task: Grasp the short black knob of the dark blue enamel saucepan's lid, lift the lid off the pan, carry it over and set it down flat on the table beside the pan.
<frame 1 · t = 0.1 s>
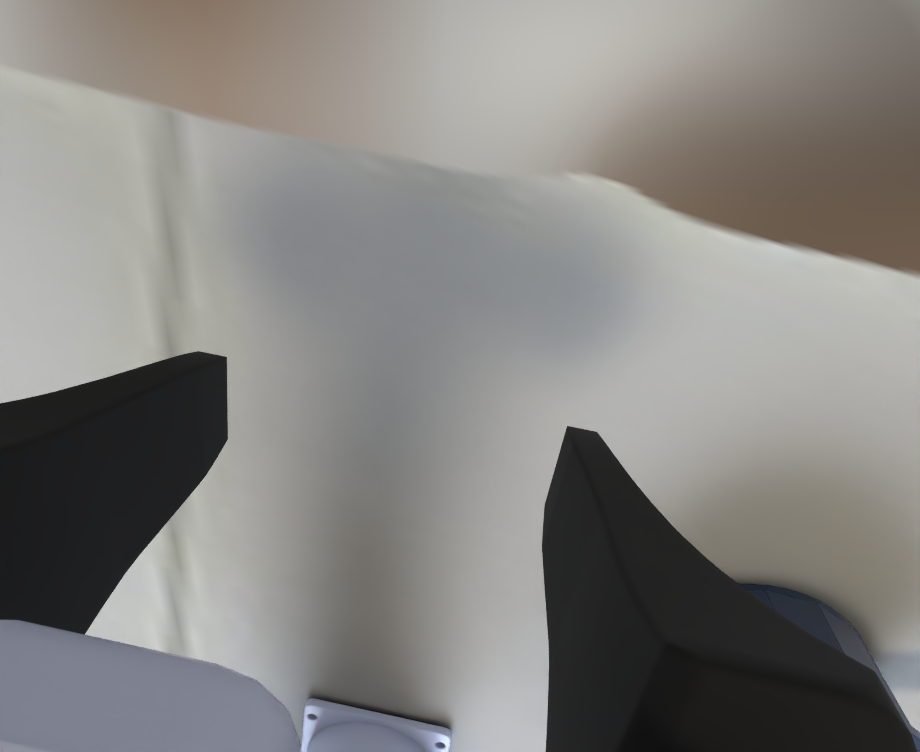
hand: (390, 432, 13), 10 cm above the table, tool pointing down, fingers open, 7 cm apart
pot: (733, 674, 28), on the table
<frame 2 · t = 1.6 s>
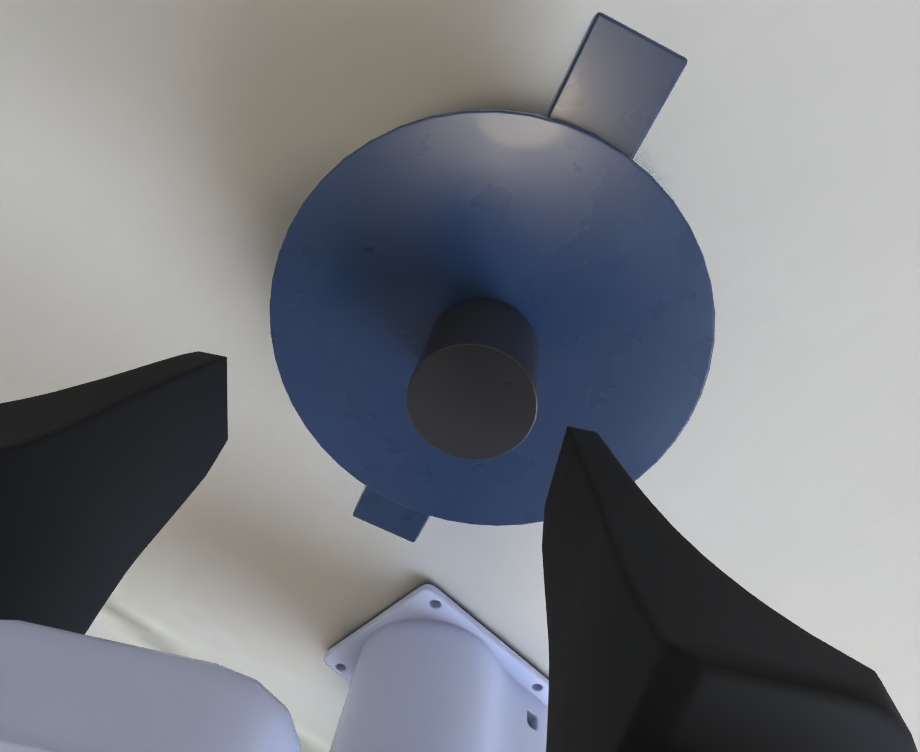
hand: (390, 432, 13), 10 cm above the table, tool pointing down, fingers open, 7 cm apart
lid: (484, 343, 17), point 5 cm above the table, touching pot
pot: (496, 285, 22), on the table
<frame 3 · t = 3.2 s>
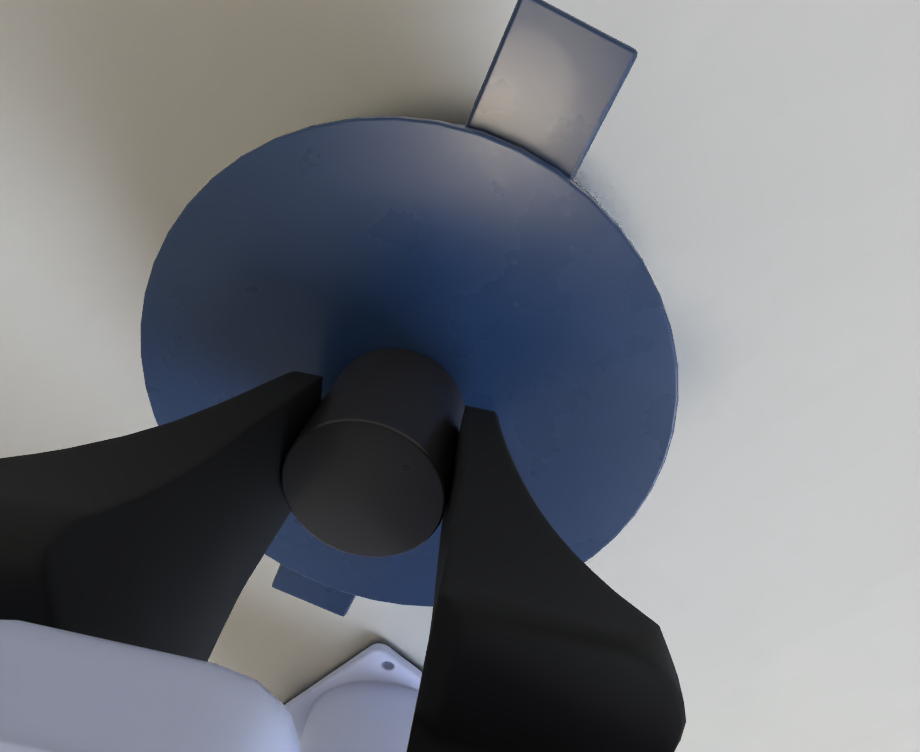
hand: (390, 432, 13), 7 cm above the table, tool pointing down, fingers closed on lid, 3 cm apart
lid: (403, 398, 14), point 5 cm above the table, touching gripper, pot
pot: (439, 317, 19), on the table
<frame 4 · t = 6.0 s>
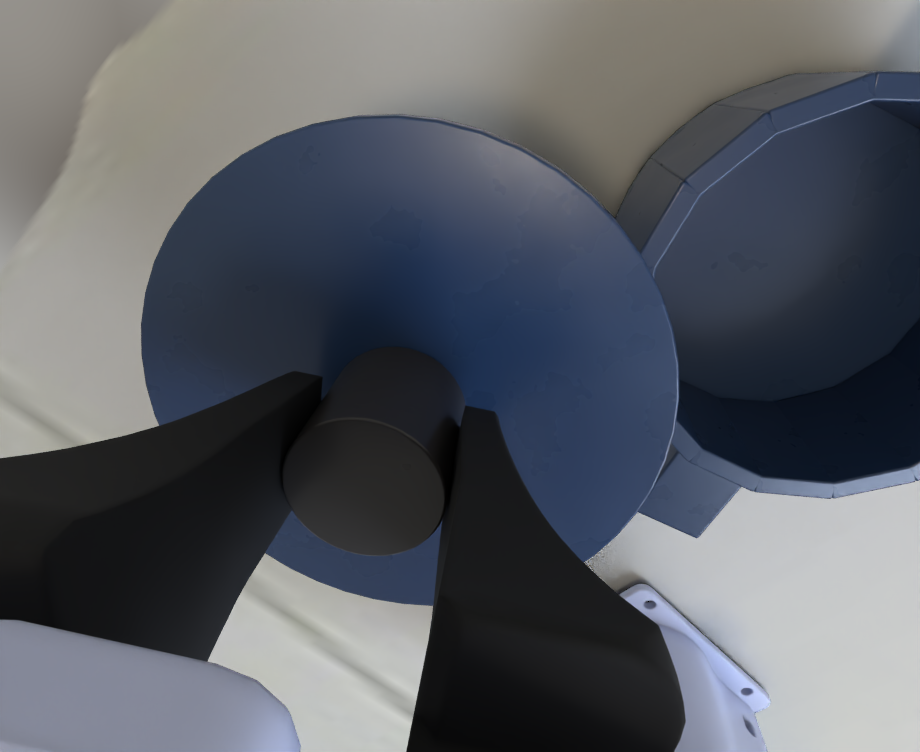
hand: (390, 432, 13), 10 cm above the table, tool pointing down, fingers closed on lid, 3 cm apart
lid: (403, 397, 14), point 9 cm above the table, touching gripper
pot: (777, 261, 20), on the table
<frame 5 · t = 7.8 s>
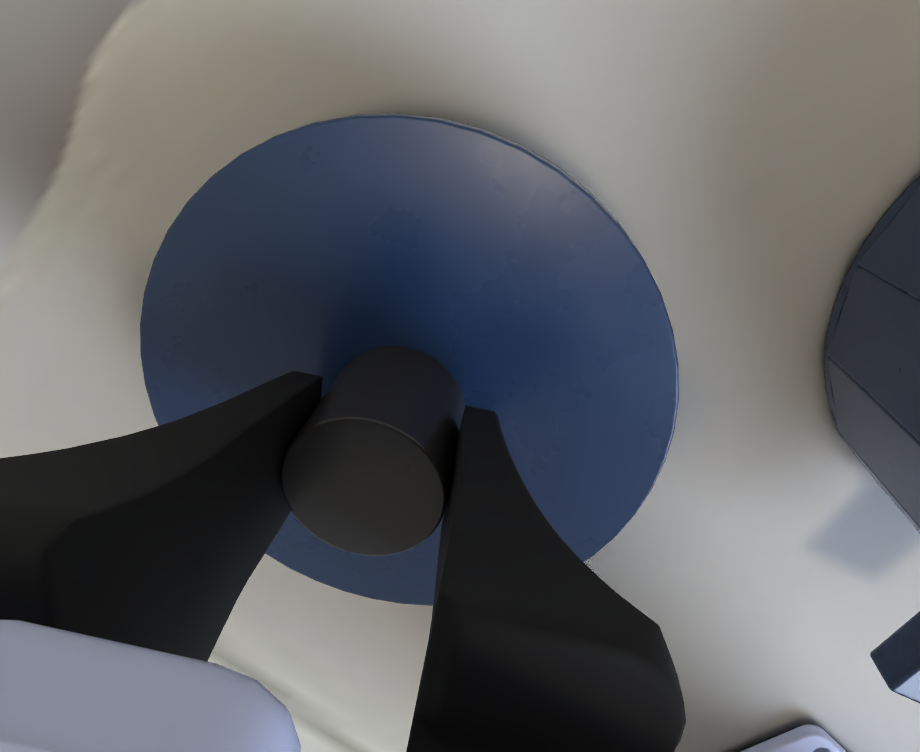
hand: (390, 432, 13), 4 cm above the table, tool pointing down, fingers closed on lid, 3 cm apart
lid: (403, 397, 14), point 3 cm above the table, touching gripper
when the fingers open (2 cm above the table, at t = 8.8 s): lid stays where it is, point 1 cm above the table.
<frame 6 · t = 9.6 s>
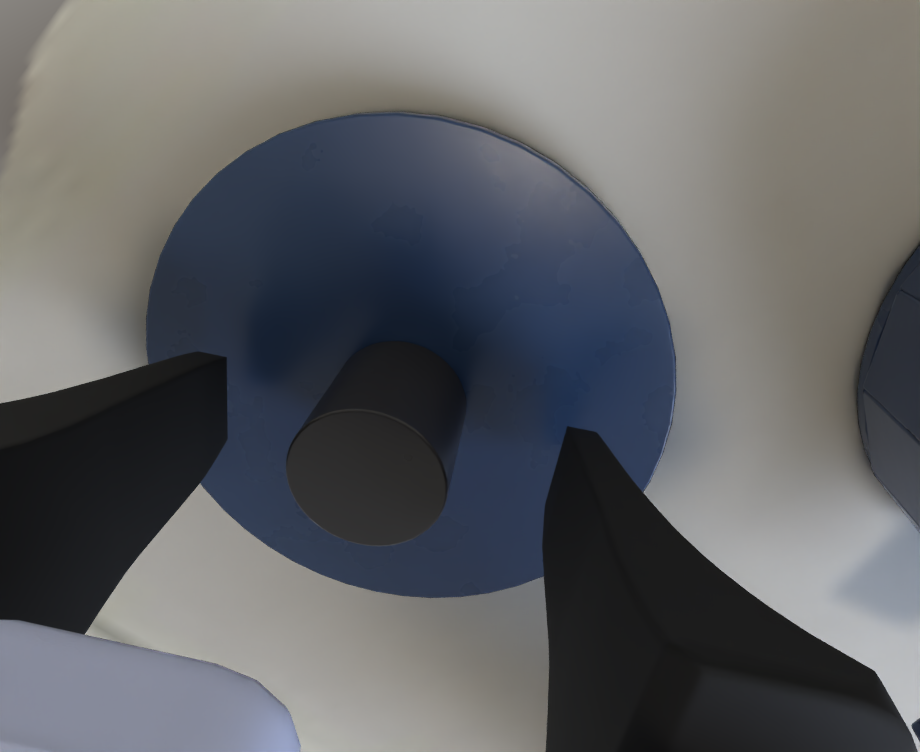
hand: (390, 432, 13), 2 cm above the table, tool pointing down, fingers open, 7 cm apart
lid: (404, 391, 14), point 1 cm above the table
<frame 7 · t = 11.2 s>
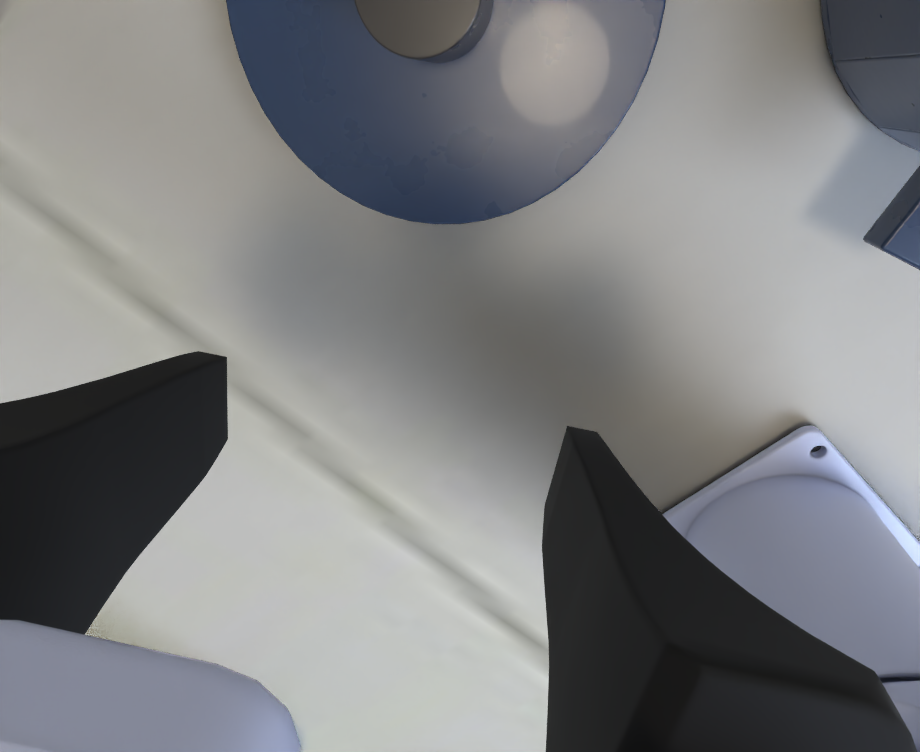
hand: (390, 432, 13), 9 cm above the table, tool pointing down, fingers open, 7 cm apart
lid: (440, 2, 17), point 1 cm above the table
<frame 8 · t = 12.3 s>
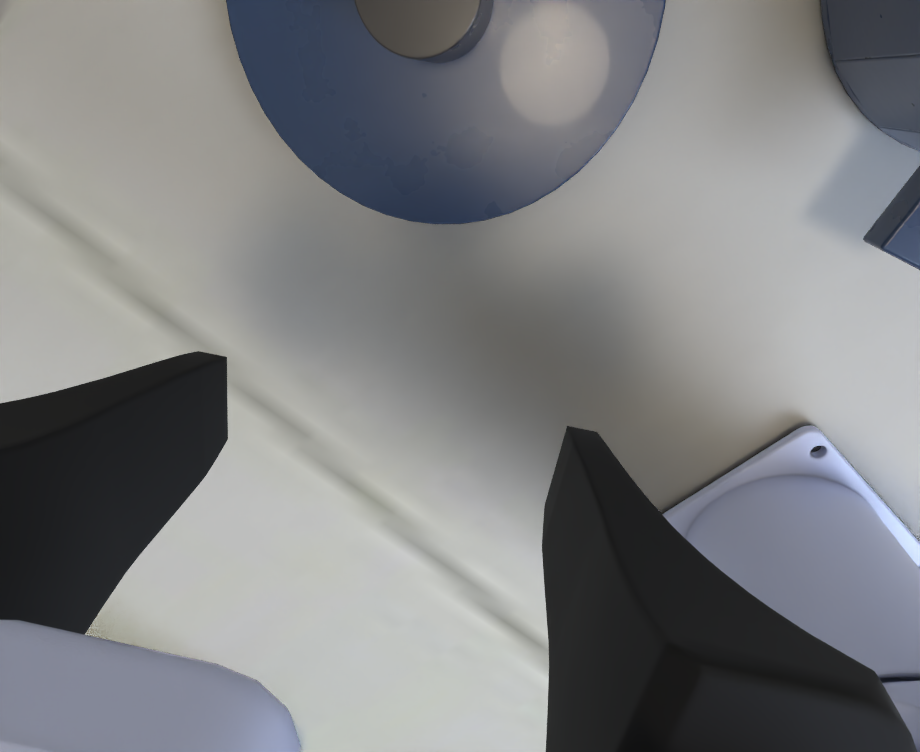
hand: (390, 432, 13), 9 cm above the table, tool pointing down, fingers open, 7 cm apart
lid: (440, 2, 17), point 1 cm above the table
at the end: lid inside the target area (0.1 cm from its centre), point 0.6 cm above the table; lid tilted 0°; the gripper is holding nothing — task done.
